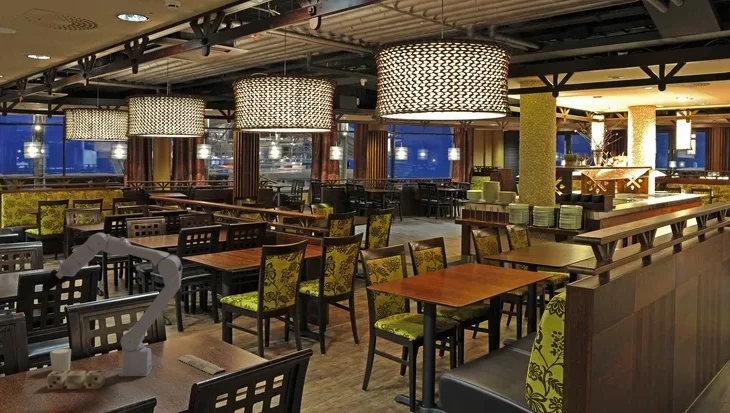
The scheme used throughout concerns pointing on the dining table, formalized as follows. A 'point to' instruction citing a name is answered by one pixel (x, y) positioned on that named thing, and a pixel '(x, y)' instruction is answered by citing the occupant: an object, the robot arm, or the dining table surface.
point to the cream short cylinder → (60, 359)
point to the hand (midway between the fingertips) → (48, 286)
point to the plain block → (76, 379)
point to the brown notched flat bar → (200, 364)
